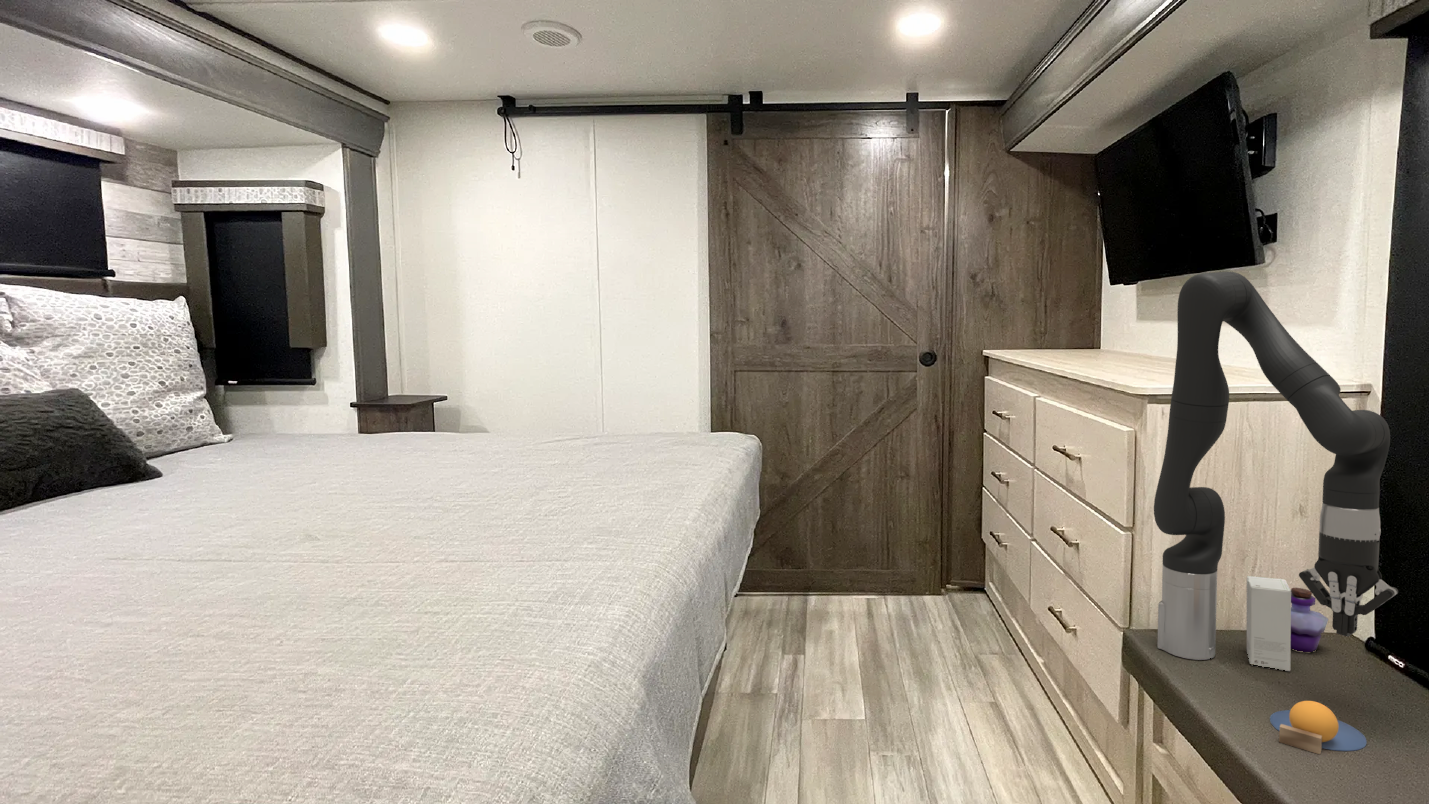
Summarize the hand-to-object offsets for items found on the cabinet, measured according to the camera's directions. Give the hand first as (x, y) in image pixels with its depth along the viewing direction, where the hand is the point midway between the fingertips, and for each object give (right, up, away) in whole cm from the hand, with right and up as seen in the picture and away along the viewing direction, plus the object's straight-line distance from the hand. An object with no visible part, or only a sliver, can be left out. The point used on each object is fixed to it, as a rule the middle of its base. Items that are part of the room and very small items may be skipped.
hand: (1344, 634), depth 122 cm
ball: (-11, -12, -7) cm, 17 cm away
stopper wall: (-14, -15, -8) cm, 22 cm away
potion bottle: (+13, -11, +26) cm, 31 cm away
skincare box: (+2, -12, +21) cm, 24 cm away
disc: (-8, -14, -4) cm, 17 cm away
